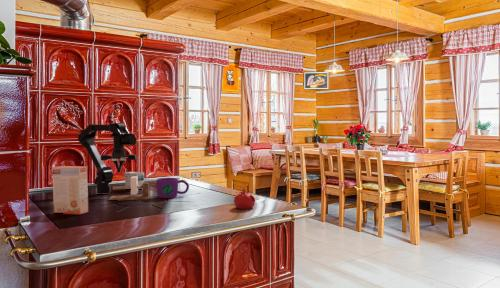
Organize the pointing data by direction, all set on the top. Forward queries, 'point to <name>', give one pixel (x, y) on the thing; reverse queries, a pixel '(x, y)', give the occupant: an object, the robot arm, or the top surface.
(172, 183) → the mug
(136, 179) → the tan rectangular block
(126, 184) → the light bulb box
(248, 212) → the top surface
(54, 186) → the cracker box
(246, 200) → the pomegranate
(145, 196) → the rod stand
